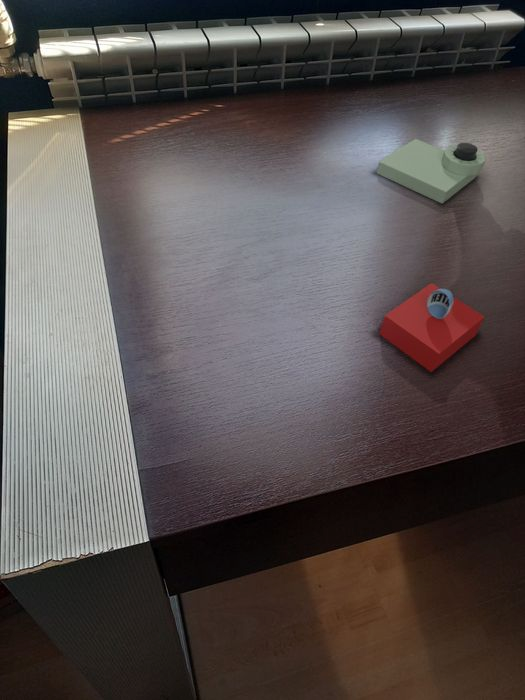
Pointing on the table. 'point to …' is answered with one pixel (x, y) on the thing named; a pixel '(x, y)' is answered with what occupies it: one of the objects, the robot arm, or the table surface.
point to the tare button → (466, 151)
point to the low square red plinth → (431, 326)
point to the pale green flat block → (430, 169)
